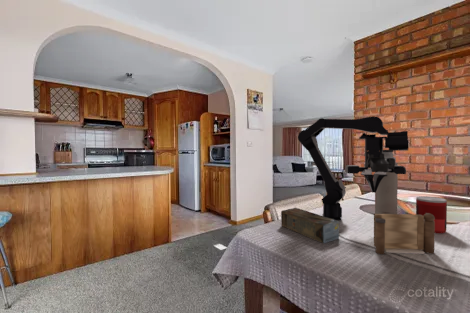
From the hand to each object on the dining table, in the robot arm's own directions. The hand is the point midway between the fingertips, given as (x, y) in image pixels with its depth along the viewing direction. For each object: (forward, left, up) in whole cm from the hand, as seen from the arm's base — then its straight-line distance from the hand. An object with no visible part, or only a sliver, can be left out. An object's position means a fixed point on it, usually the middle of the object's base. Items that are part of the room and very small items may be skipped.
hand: (373, 192), depth 84 cm
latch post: (-6, -26, -12) cm, 29 cm away
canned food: (+17, -2, -12) cm, 21 cm away
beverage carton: (-24, -14, -12) cm, 31 cm away
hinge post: (+7, -22, -12) cm, 26 cm away
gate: (-1, -23, -11) cm, 26 cm away
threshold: (0, -23, -12) cm, 26 cm away
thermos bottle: (+9, +15, -12) cm, 21 cm away
